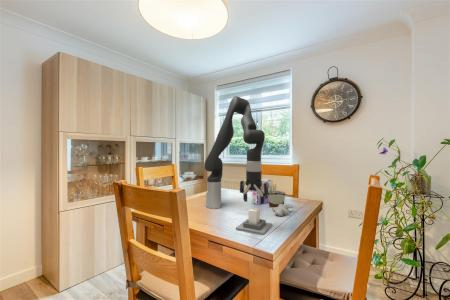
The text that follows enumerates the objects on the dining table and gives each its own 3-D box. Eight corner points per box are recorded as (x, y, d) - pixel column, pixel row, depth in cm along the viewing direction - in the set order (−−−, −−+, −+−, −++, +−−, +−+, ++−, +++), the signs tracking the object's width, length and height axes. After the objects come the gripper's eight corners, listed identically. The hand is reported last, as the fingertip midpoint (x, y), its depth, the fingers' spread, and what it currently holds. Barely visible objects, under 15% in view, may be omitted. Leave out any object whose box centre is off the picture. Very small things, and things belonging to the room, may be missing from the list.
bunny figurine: (269, 208, 127) (279, 200, 139) (270, 217, 127) (279, 208, 140) (285, 211, 121) (293, 202, 134) (286, 220, 122) (294, 210, 134)
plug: (248, 226, 107) (248, 210, 107) (252, 223, 111) (252, 207, 111) (256, 227, 105) (256, 211, 105) (259, 224, 110) (259, 208, 109)
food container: (284, 205, 148) (284, 190, 148) (286, 207, 142) (286, 192, 142) (266, 204, 149) (266, 190, 149) (266, 207, 143) (266, 192, 143)
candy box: (257, 204, 149) (256, 181, 149) (252, 203, 155) (252, 180, 154) (272, 202, 156) (272, 179, 155) (267, 200, 161) (267, 178, 161)
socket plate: (235, 229, 106) (235, 223, 105) (247, 220, 118) (247, 215, 118) (263, 235, 99) (263, 228, 99) (272, 225, 111) (272, 219, 111)
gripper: (270, 170, 107) (269, 202, 108) (243, 168, 114) (243, 199, 115) (265, 171, 101) (265, 206, 101) (237, 170, 108) (237, 202, 108)
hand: (253, 202), depth 108 cm, fingers open, 8 cm apart
